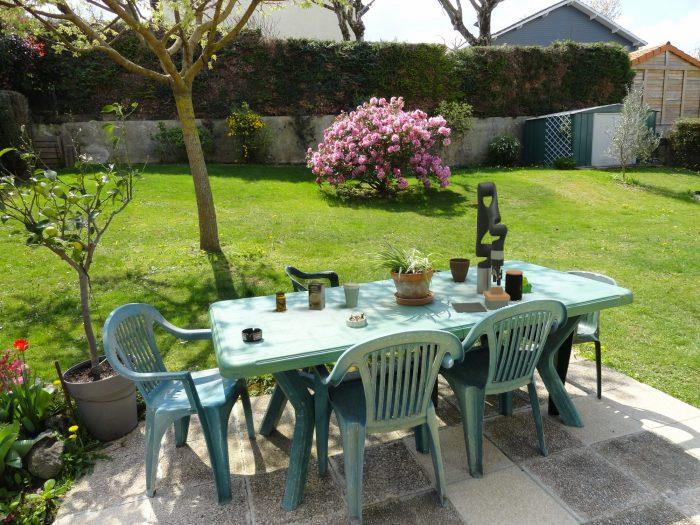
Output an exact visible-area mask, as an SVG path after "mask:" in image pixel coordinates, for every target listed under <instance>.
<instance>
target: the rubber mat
mask: <svg viewBox="0 0 700 525" xmlns="http://www.w3.org/2000/svg"><path fill="white" fill-rule="evenodd" d="M451 304H452V305H451ZM450 305H451V306H452V307H454V308H453V309H454V310H455V312H456V313H457V314H459V313H463V312H466V313H488V310H487V309H486V307H485V306H484V305H483V304H482V303H481V302H480V301H479V302H476V301H475V302H453V303H452V302H451V303H450Z"/></svg>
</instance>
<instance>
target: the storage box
mask: <svg viewBox="0 0 700 525" xmlns="http://www.w3.org/2000/svg"><path fill="white" fill-rule="evenodd" d="M484 305H485V306H486V307H487V309H489V310H499V309H498V308H502V307H505V306H508V307H509V300H504V301H488V300H487V298H486V297H485V296H484Z"/></svg>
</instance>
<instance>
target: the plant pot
mask: <svg viewBox="0 0 700 525" xmlns="http://www.w3.org/2000/svg"><path fill="white" fill-rule="evenodd" d="M448 262H449V268H450V272H451V276H452V279H453V281H455V282H454V283H457V282H463V283H465V282H466V279H467V276H468V272H469V269H470V264H471V260H470V259H469V258H465V257H464V258H463V257H462V258H461V257H458V258H456V257H455V258H450V259H449V260H448Z"/></svg>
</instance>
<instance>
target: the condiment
mask: <svg viewBox="0 0 700 525" xmlns="http://www.w3.org/2000/svg"><path fill="white" fill-rule="evenodd" d="M286 299H287V298H286V293H285V292H284V291H281V290H280V291H277V292H275V305H276V306H275V307H276V308H275V309H273V310H272V311H271V312H272V313H285V312H287V311H288V310H289V308H287V300H286Z"/></svg>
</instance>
